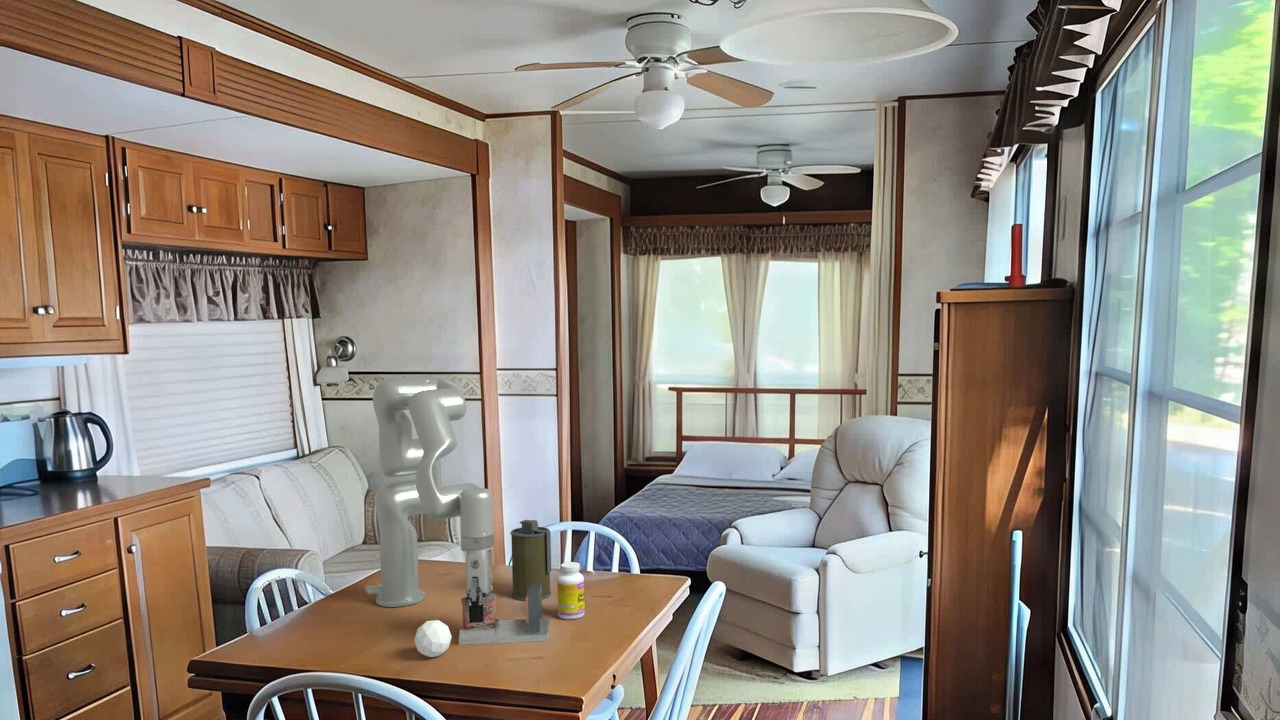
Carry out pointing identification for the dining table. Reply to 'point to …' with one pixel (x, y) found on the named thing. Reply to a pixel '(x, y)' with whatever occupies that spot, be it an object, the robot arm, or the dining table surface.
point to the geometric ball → (432, 638)
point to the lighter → (488, 611)
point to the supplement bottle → (570, 592)
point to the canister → (530, 559)
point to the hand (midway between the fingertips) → (479, 614)
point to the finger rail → (514, 625)
